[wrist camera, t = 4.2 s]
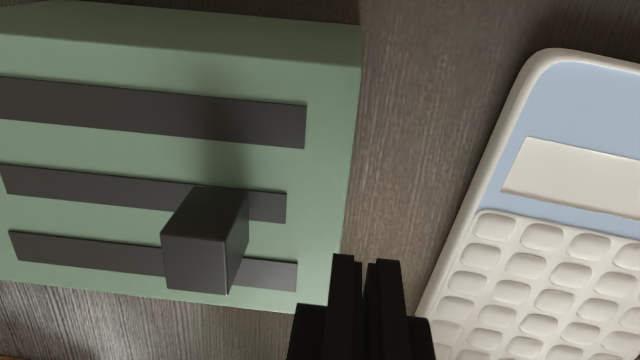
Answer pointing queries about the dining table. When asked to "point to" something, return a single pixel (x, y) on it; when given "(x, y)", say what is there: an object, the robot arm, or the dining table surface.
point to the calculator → (548, 223)
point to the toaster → (172, 144)
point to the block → (10, 358)
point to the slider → (206, 240)
